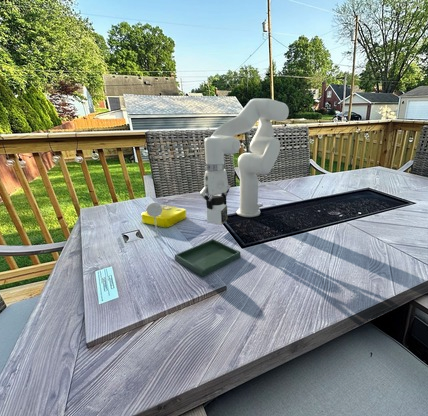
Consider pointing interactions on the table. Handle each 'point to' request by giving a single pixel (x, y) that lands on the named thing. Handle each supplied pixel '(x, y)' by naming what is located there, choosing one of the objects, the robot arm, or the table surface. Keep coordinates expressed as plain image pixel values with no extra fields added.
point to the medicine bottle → (217, 211)
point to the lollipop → (154, 211)
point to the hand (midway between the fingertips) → (216, 206)
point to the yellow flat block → (165, 216)
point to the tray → (207, 257)
